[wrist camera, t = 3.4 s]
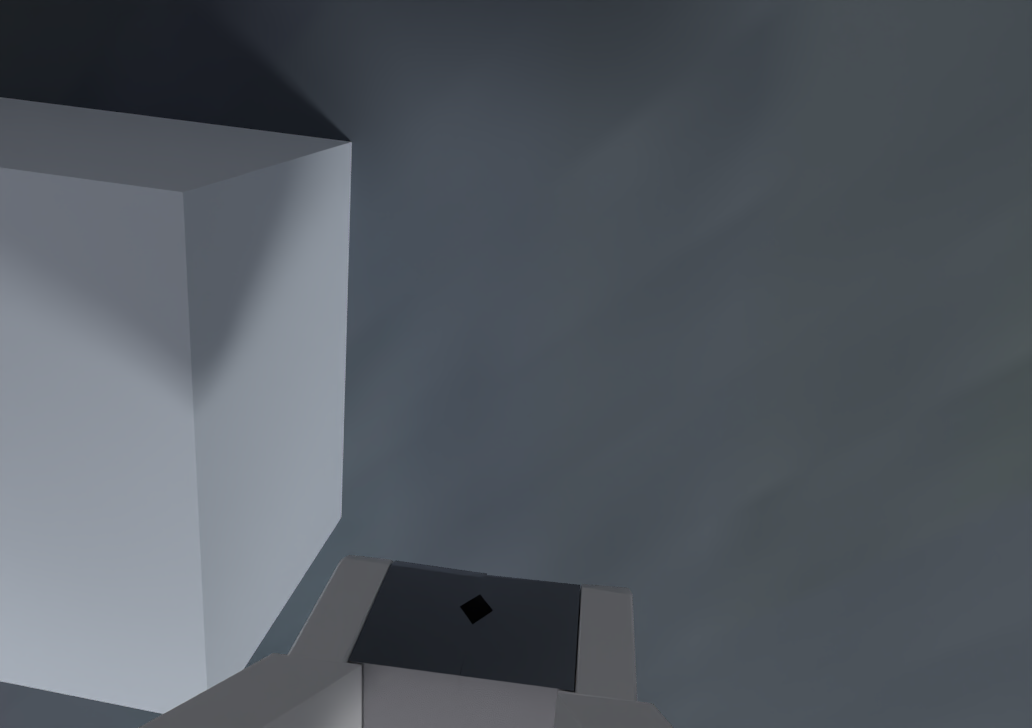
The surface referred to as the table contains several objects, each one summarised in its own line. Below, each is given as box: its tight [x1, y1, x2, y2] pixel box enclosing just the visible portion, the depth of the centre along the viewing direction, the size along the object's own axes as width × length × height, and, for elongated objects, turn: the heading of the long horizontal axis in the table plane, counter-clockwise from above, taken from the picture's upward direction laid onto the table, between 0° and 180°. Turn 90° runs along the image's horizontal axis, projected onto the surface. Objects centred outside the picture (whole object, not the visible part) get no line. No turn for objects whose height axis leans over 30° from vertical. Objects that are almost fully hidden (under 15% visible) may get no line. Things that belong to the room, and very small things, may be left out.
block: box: [0, 97, 352, 714], centre depth 14 cm, size 8×8×6 cm
